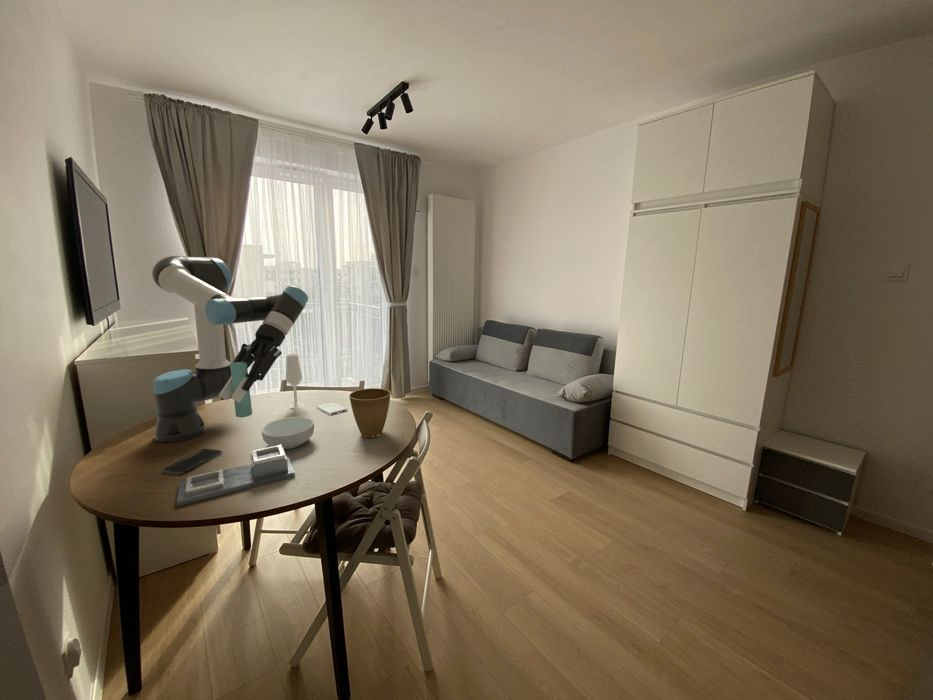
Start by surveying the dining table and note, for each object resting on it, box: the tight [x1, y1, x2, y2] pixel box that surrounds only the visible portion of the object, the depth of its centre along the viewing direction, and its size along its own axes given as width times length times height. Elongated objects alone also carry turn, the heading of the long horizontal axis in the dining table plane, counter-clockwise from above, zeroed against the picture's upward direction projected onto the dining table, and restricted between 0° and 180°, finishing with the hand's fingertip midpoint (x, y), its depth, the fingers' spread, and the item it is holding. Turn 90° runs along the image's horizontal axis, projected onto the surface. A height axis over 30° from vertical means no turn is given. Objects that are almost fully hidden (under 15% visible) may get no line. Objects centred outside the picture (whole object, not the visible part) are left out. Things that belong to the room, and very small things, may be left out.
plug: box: [230, 362, 253, 418], centre depth 106 cm, size 4×4×15 cm
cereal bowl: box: [261, 416, 315, 450], centre depth 133 cm, size 17×17×7 cm
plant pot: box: [348, 387, 391, 438], centre depth 142 cm, size 15×15×16 cm
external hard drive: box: [316, 402, 348, 415], centre depth 169 cm, size 2×8×12 cm
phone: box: [162, 448, 223, 476], centre depth 120 cm, size 8×1×15 cm
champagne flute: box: [285, 353, 305, 409], centre depth 169 cm, size 7×7×24 cm
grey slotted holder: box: [176, 445, 296, 507], centre depth 109 cm, size 28×12×7 cm, turn 123°
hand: (229, 399), depth 103 cm, fingers closed on plug, 4 cm apart
